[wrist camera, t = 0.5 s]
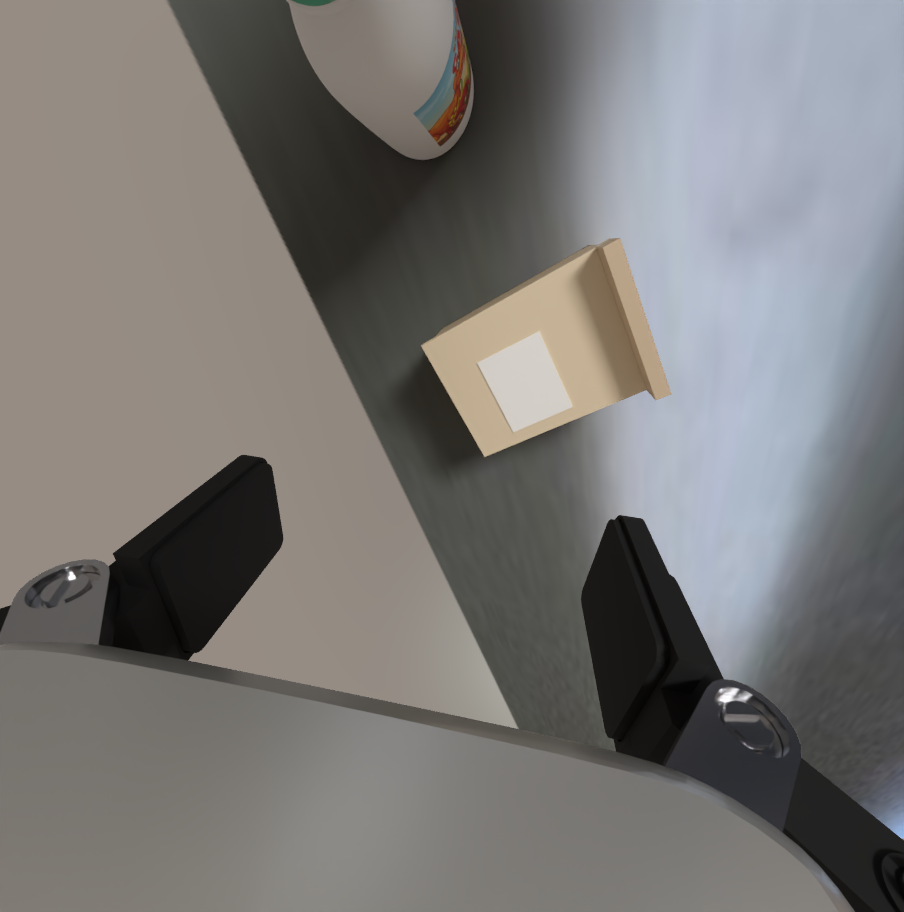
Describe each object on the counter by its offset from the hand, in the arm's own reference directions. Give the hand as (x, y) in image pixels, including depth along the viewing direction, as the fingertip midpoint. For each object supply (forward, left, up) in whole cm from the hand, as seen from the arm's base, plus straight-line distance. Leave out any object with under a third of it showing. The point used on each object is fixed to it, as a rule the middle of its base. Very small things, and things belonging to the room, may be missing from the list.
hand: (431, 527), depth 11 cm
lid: (-3, +3, -22) cm, 22 cm away
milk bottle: (-3, -17, -29) cm, 34 cm away
